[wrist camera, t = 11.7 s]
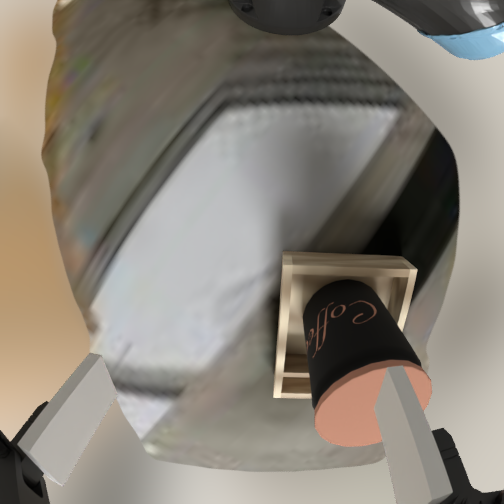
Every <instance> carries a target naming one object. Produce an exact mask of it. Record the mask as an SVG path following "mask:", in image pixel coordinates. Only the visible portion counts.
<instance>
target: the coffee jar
mask: <svg viewBox="0 0 504 504" xmlns="http://www.w3.org/2000/svg"><path fill="white" fill-rule="evenodd" d="M303 328H304V336H305V343H306V351H307V360H308V368H309V377H310V386H311V396H312V405H313V408H314V410H315V428H316V430H317V431H318V433H319V435H320V436H321V437H322V438H323V439H325V440H327V441H328V442H330V443H332V444H337V445H341V446H364V445H369V444H374V443H378V442H380V441H382V437H381V433H380V429H379V425H378V422H377V418H376V414H375V411H374V406H375V404H376V401H377V398H378V395H379V392H380V389H381V386H382V383H383V379H384V376H385V373H386V370H387V367H395V366H402V365H403V367H404V369H405V371H406V373H407V376H408V378H409V380H410V382H411V384H412V387H413V389H414V391H415V393H416V396H417V398H418V400H419V402H420V405H421V407H422V409H423V411H424V410H425V408H426V407H427V405H428V403H429V400H430V397H431V394H432V387H431V379H430V378H429V377H428V375H427V374H426V373H425V371H424V370H423V369H422V367H421V362H420V360H419V359H418V357H417V355H416V354H415V352H414V350H413V349H412V347H411V345H410V344H409V342H408V341H407V339H406V337H405V336H404V334H403V333H402V331H401V330H400V328H399V326H398V325H397V323H396V322H395V320H394V319H393V317H392V316H391V314H390V313H389V311H388V310H387V308H386V307H385V305H384V304H383V302H382V301H381V299H380V298H379V296H378V295H377V294H376V292H375V291H374V290H373V289H372V287H370V286H368V285H367V284H365V283H363V282H361V281H356V280H351V279H345V280H338V281H334V282H331V283H329V284H327V285H325V286H323V287H322V288H320V289H319V290H318V291H317V292H316V293H314V294H313V296H312V297H311V299H310V300H309V301H308V303H307V304H306V307H305V310H304V314H303Z"/></svg>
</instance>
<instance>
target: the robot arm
mask: <svg viewBox="0 0 504 504" xmlns="http://www.w3.org/2000/svg"><path fill="white" fill-rule="evenodd" d="M228 1H229V4H230V6H231V8H232V10H233V11H234V13H235V14H236V15H237V16H238V17H239V18H240V19H241V20H243V21H244V22H245V23H247V24H249V25H251V26H252V27H255V28H257V29H259V30H262V31H265V32H269V33H274V34H281V35H301V34H308V33H312V32H315V31H318V30H321V29H323V28H325V27H327V26H329V25H330V24H331V23H333V22H334V21H335V20H336V19H337V18H338V16H339V15H340V13H341V11H342V9H343V6H344V4H345V1H346V0H228ZM372 1H374V2H376V3H378V4H379V5H381V6H383V7H384V8H386V9H388V10H389V11H391V12H392V13H394V14H395V15H397V16H399V17H400V18H402V19H403V20H405V21H406V22H408V23H409V24H410V25H412V26H413V27H415V28H416V29H417V31H418V32H419V33H420V34H422V35H423V36H426V37H428V38H431V39H432V40H433V41H435V42H436V43H438V44H439V45H440V46H442V47H443V48H444V49H445V50H447V51H448V52H449V53H451V54H453V55H454V56H456V57H459V58H465V59H469V60H480V59H486V58H490V57H493V56H496V55H498V54H501V53H503V52H504V0H372ZM117 395H118V394H117V391H116V389H115V387H114V385H113V382H112V380H111V378H110V375H109V373H108V370H107V368H106V365H105V363H104V360H103V358H102V355H98V354H93V353H89V355H88V356H87V357H86V358H85V359H84V361H83V362H82V363H81V364H80V365H79V367H78V368H77V369H76V370H75V371H74V372H73V374H72V375H71V376H70V377H69V378H68V380H67V381H66V382H65V383H64V384H63V386H62V387H61V388H60V389H59V391H58V392H57V393H56V394H55V396H54V397H53V398H52V399H51V401H50V402H47V401H46V402H44V403H43V404H42V405H40V406H38V407H37V409H36V410H35V411H34V412H33V415H31V416H30V418H29V419H28V421H26V423H25V424H24V425H23V427H22V428H21V429H20V431H19V432H18V433H17V434H16V436H15V437H14V438H13V440H12V441H11V442H10V441H9V440H8V439H7V438H6V436H5V435H4V434H3V433H2V432H1V430H0V504H50V502H49V498H48V494H47V489H46V484H45V480H44V478H43V477H42V476H43V474H45V475H46V476H47V477H48V478H49V479H50V480H52V481H54V482H55V483H57V484H59V485H61V486H64V484H65V483H66V481H67V479H68V477H69V475H70V474H71V472H72V470H73V468H74V466H75V465H76V463H77V461H78V460H79V458H80V456H81V455H82V453H83V451H84V449H85V448H86V446H87V444H88V443H89V441H90V439H91V437H92V436H93V434H94V433H95V431H96V429H97V427H98V426H99V424H100V423H101V421H102V419H103V418H104V416H105V414H106V413H107V411H108V409H109V408H110V406H111V405H112V403H113V401H114V400H115V398H116V397H117ZM374 411H375V414H376V418H377V422H378V425H379V429H380V433H381V437H382V441H383V445H384V449H385V453H386V457H387V461H388V466H389V470H390V475H391V479H392V484H393V488H394V494H395V499H396V503H397V504H504V490H501V491H495V492H488V493H482V492H480V491H478V490H477V489H474V488H473V487H472V486H471V484H470V482H469V479H468V476H467V474H466V471H465V468H464V466H463V463H462V461H461V458H460V456H459V453H458V451H457V449H456V448H455V443H454V441H453V439H452V436H451V435H450V434H449V433H448V432H447V431H446V430H445V429H444V428H441V429H437V430H433V431H431V429H430V426H429V424H428V422H427V419H426V417H425V414H424V412H423V409H422V407H421V405H420V402H419V400H418V398H417V396H416V393H415V391H414V389H413V387H412V384H411V382H410V380H409V378H408V376H407V373H406V371H405V369H404V367H403V365H402V366H395V367H387V370H386V373H385V376H384V379H383V383H382V386H381V389H380V392H379V395H378V398H377V401H376V404H375V406H374Z"/></svg>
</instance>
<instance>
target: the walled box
mask: <svg viewBox="0 0 504 504" xmlns="http://www.w3.org/2000/svg"><path fill="white" fill-rule="evenodd" d="M416 274H417V269H416V268H415V267H414V266H413V265H412V264H410V263H409V262H408V261H407V260H406V259H405V258H403V257H402V256H386V255H363V254H340V253H317V252H294V251H283V257H282V275H281V292H280V307H279V322H278V336H277V349H276V361H275V373H274V396H273V398H312V396H311V386H310V377H309V368H308V360H307V351H306V343H305V336H304V328H303V314H304V310H305V307H306V304H307V303H308V301H309V300H310V299H311V297H312V296H313V294H314V293H316V292H317V291H318V290H319V289H320V288H322V287H323V286H325V285H327V284H329V283H331V282H334V281H338V280H345V279H351V280H356V281H361V282H363V283H365V284H367V285H368V286H370V287H372V289H373V290H374V291H375V292H376V294H377V295H378V296H379V298H380V299H381V301H382V302H383V304H384V305H385V307H386V308H387V310H388V311H389V313H390V314H391V316H392V317H393V319H394V320H395V322H396V323H397V325H398V326H399V328H400V330H401V331H403V327H404V324H405V320H406V316H407V312H408V309H409V305H410V301H411V297H412V292H413V288H414V283H415V279H416Z"/></svg>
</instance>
